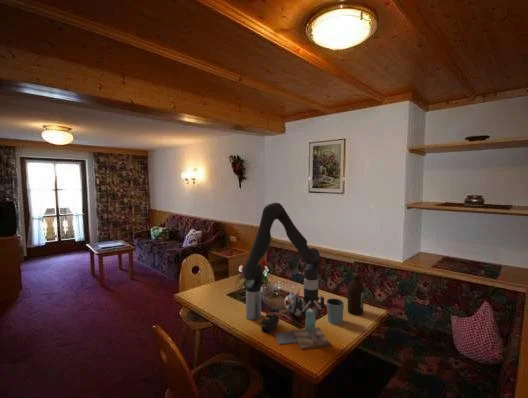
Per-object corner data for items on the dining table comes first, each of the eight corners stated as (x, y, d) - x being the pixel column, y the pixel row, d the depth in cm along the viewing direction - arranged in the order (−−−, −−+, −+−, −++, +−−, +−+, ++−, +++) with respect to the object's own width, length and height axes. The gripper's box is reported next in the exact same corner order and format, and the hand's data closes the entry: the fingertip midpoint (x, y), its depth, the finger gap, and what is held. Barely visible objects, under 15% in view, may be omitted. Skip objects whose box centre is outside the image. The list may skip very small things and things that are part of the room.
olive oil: (345, 313, 178) (346, 275, 176) (348, 306, 188) (349, 270, 186) (362, 317, 173) (363, 277, 171) (365, 310, 183) (366, 272, 181)
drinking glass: (340, 327, 162) (341, 306, 161) (323, 322, 167) (324, 302, 166) (345, 319, 171) (345, 300, 170) (329, 315, 176) (329, 296, 175)
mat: (274, 334, 154) (274, 333, 154) (291, 332, 156) (291, 331, 156) (278, 344, 145) (278, 343, 145) (297, 342, 147) (297, 341, 147)
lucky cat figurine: (306, 319, 171) (295, 301, 168) (288, 322, 176) (278, 305, 173) (309, 302, 184) (300, 285, 182) (293, 306, 189) (284, 289, 187)
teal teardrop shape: (303, 325, 154) (303, 306, 153) (311, 324, 154) (312, 306, 154) (309, 334, 145) (309, 314, 144) (317, 333, 146) (318, 313, 145)
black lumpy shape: (272, 334, 154) (272, 322, 154) (260, 332, 157) (260, 320, 156) (278, 326, 163) (279, 314, 163) (267, 323, 166) (267, 312, 166)
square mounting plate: (291, 332, 156) (291, 318, 156) (318, 329, 160) (319, 315, 159) (301, 349, 141) (301, 334, 140) (330, 345, 144) (331, 330, 143)
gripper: (321, 283, 153) (320, 312, 154) (295, 285, 150) (295, 314, 151) (326, 288, 146) (326, 318, 147) (300, 290, 143) (300, 321, 144)
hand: (310, 316), depth 149 cm, fingers open, 8 cm apart
